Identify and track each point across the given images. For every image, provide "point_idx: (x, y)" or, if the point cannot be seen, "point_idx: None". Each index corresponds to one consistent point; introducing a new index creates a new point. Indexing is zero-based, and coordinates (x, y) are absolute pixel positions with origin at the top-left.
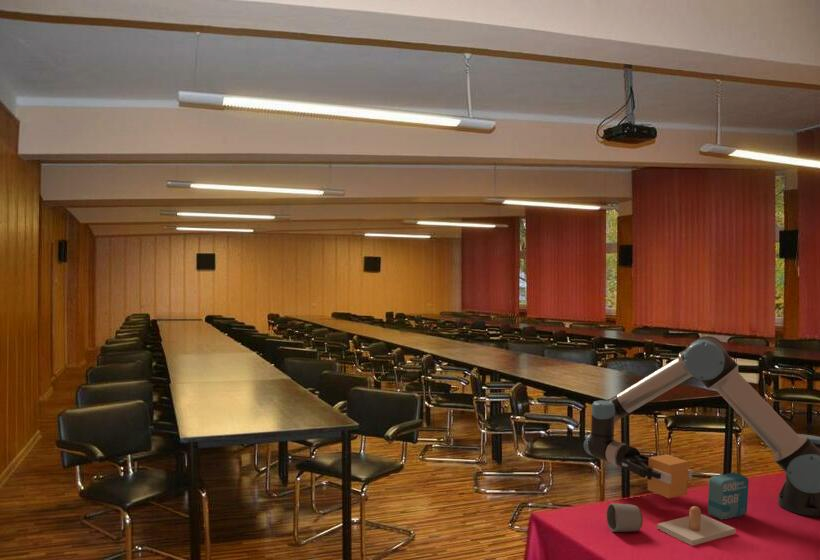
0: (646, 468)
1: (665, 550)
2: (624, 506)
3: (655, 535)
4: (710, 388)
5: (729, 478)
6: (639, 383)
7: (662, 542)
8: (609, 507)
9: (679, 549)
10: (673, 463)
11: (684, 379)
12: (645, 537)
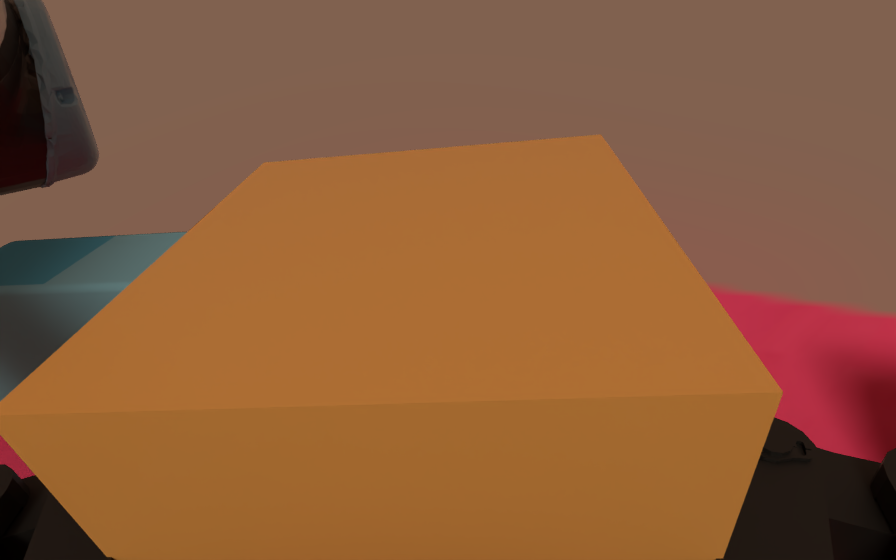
0: (822, 511)
1: (821, 319)
2: None
3: (805, 422)
4: None
5: (115, 243)
6: None
7: (799, 364)
8: None
9: (743, 311)
10: (496, 153)
11: None
12: (891, 424)
